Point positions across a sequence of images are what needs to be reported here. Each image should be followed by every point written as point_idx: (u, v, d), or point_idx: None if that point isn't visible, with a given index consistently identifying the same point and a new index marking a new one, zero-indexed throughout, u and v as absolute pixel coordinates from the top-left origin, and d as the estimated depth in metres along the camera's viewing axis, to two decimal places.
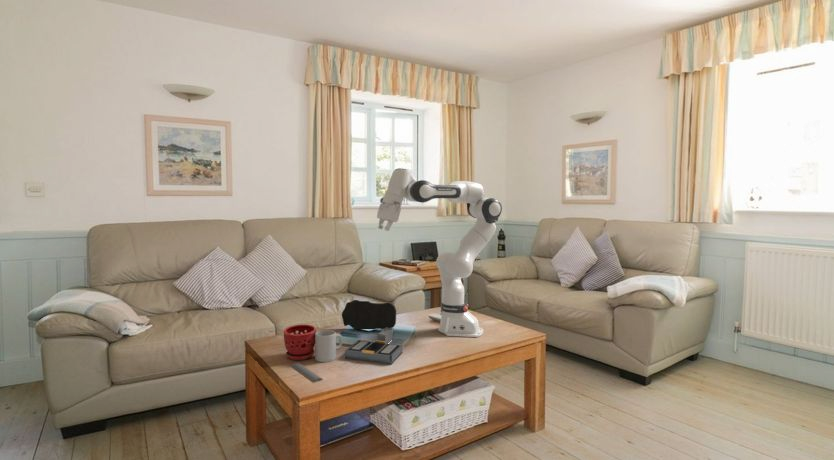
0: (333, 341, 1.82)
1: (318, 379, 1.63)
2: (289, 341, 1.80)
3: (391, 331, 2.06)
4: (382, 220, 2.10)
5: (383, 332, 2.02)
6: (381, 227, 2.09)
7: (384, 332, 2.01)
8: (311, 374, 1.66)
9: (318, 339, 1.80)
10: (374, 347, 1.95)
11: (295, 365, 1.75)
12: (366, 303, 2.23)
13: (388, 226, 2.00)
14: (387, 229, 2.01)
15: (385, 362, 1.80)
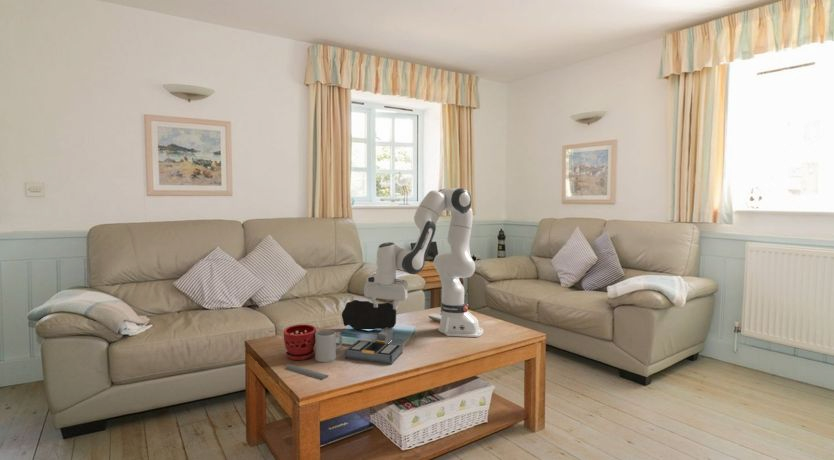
0: (333, 341, 1.82)
1: (325, 376, 1.65)
2: (289, 341, 1.80)
3: (391, 331, 2.06)
4: (375, 298, 2.04)
5: (383, 332, 2.02)
6: (377, 305, 2.04)
7: (384, 332, 2.01)
8: (315, 373, 1.67)
9: (318, 339, 1.80)
10: (374, 347, 1.95)
11: (290, 367, 1.73)
12: (366, 303, 2.23)
13: None
14: (396, 308, 2.01)
15: (385, 362, 1.80)
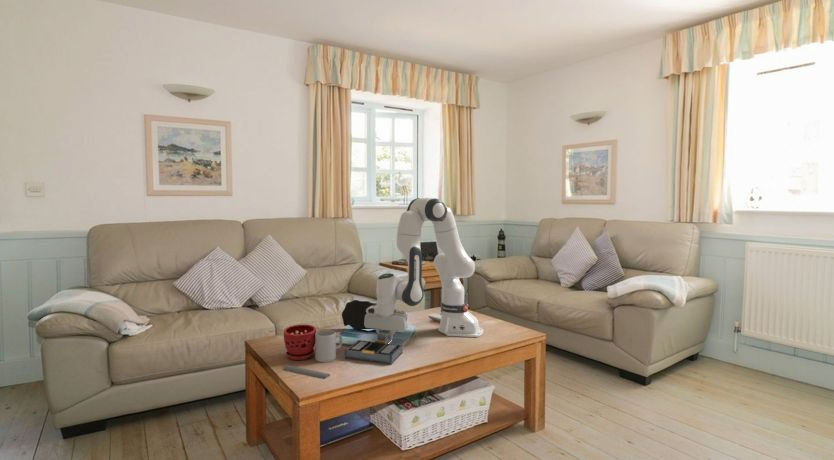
0: (333, 341, 1.82)
1: (327, 375, 1.66)
2: (289, 341, 1.80)
3: None
4: (379, 329, 2.05)
5: (383, 332, 2.02)
6: None
7: (384, 332, 2.01)
8: (316, 372, 1.68)
9: (318, 339, 1.80)
10: (374, 347, 1.95)
11: (289, 368, 1.72)
12: (366, 303, 2.23)
13: (392, 335, 2.03)
14: (392, 338, 2.03)
15: (385, 362, 1.80)
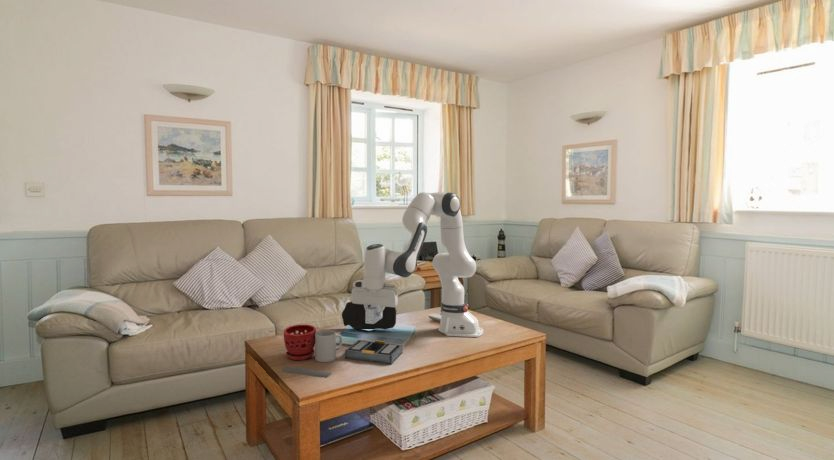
0: (333, 341, 1.82)
1: (329, 374, 1.67)
2: (289, 341, 1.80)
3: None
4: (367, 305, 1.88)
5: (371, 307, 1.85)
6: None
7: (372, 307, 1.84)
8: (317, 371, 1.68)
9: (318, 339, 1.80)
10: (374, 347, 1.95)
11: (288, 369, 1.71)
12: None
13: (381, 311, 1.86)
14: (381, 314, 1.86)
15: (385, 362, 1.80)
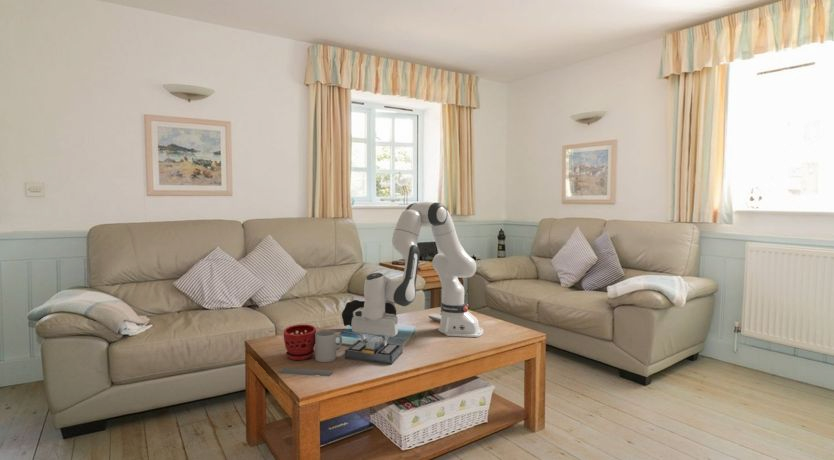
0: (333, 341, 1.82)
1: (331, 372, 1.69)
2: (289, 341, 1.80)
3: (380, 340, 1.90)
4: (363, 333, 1.89)
5: (371, 341, 1.86)
6: (366, 340, 1.90)
7: (372, 342, 1.86)
8: (318, 371, 1.69)
9: (318, 339, 1.80)
10: None
11: (287, 370, 1.70)
12: None
13: (386, 340, 1.86)
14: (385, 344, 1.87)
15: (385, 362, 1.80)
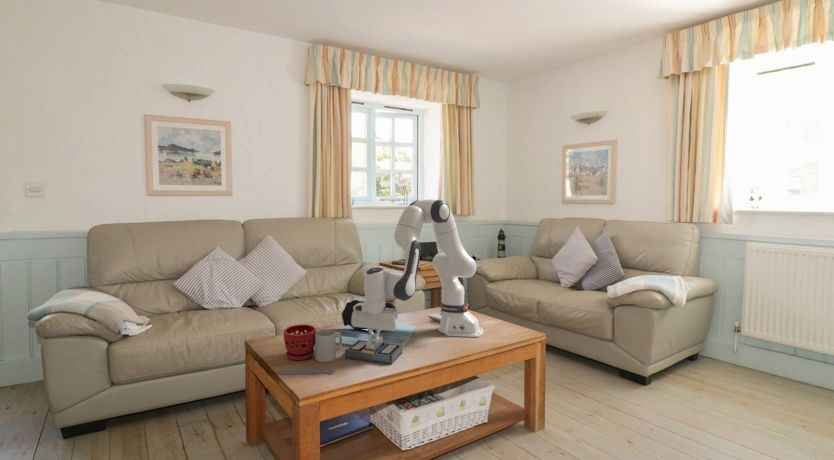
0: (333, 341, 1.82)
1: None
2: (289, 341, 1.80)
3: (380, 340, 1.90)
4: (372, 328, 1.88)
5: (371, 341, 1.86)
6: None
7: (372, 342, 1.86)
8: (319, 370, 1.70)
9: (318, 339, 1.80)
10: None
11: (286, 371, 1.68)
12: None
13: (378, 334, 1.87)
14: (377, 337, 1.88)
15: (385, 362, 1.80)
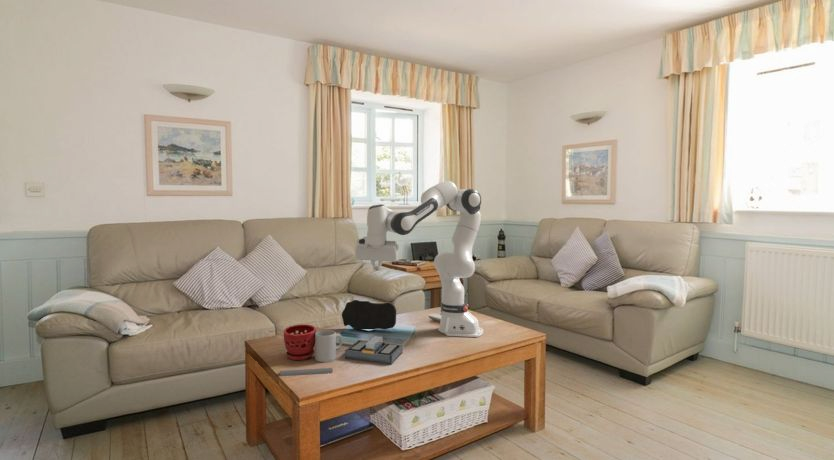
0: (333, 341, 1.82)
1: (332, 369, 1.72)
2: (289, 341, 1.80)
3: (380, 340, 1.90)
4: (374, 261, 2.03)
5: (371, 341, 1.86)
6: None
7: (372, 342, 1.86)
8: (319, 369, 1.71)
9: (318, 339, 1.80)
10: None
11: (286, 372, 1.68)
12: (366, 303, 2.23)
13: None
14: (379, 269, 2.03)
15: (385, 362, 1.80)
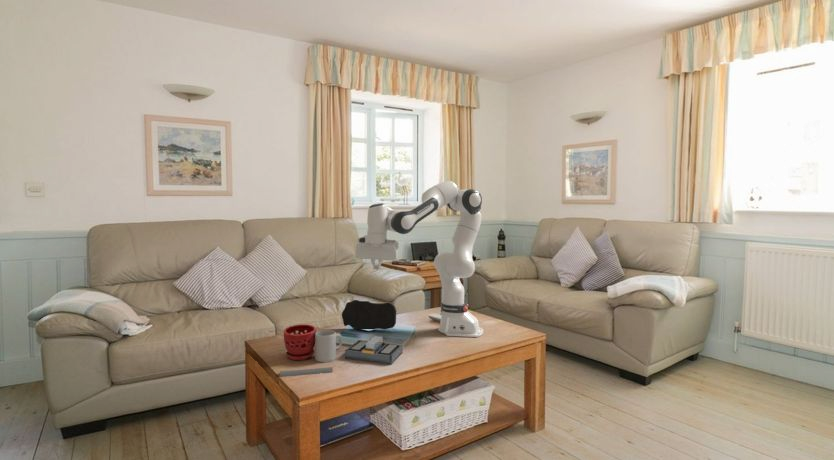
0: (333, 341, 1.82)
1: None
2: (289, 341, 1.80)
3: (380, 340, 1.90)
4: (374, 259, 2.04)
5: (371, 341, 1.86)
6: None
7: (372, 342, 1.86)
8: (320, 369, 1.71)
9: (318, 339, 1.80)
10: None
11: (286, 373, 1.67)
12: (366, 303, 2.23)
13: None
14: (379, 268, 2.03)
15: (385, 362, 1.80)
